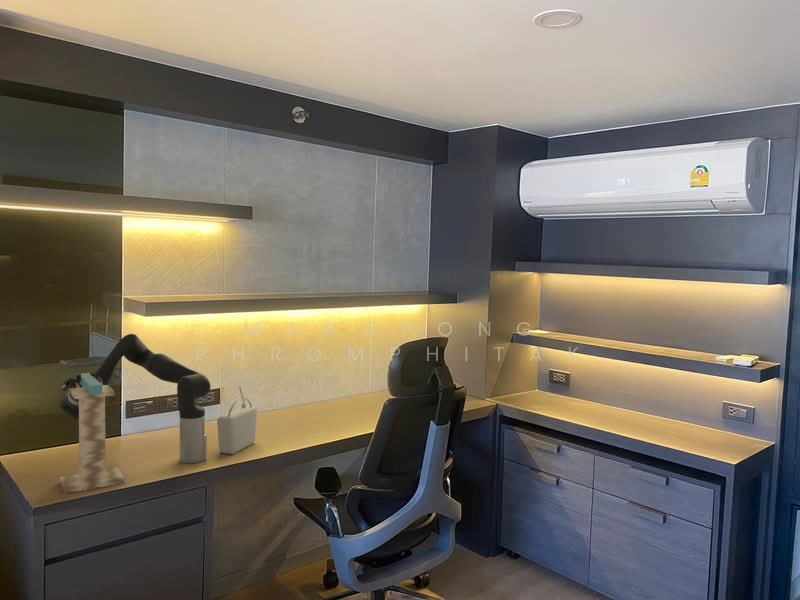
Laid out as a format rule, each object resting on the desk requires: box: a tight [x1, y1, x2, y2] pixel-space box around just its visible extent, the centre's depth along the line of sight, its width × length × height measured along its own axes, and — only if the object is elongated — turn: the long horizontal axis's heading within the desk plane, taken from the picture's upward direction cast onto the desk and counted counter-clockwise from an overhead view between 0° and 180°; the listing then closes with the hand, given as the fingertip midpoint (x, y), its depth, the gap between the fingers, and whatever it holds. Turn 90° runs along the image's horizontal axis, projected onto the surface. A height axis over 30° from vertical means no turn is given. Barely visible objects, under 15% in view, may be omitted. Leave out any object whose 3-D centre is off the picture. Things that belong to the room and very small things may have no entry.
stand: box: [59, 384, 125, 494], centre depth 206 cm, size 18×12×32 cm, turn 126°
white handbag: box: [216, 386, 258, 455], centre depth 249 cm, size 22×8×25 cm, turn 165°
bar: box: [80, 372, 102, 395], centre depth 208 cm, size 4×26×3 cm, turn 36°
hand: (86, 376), depth 214 cm, fingers closed on bar, 3 cm apart
